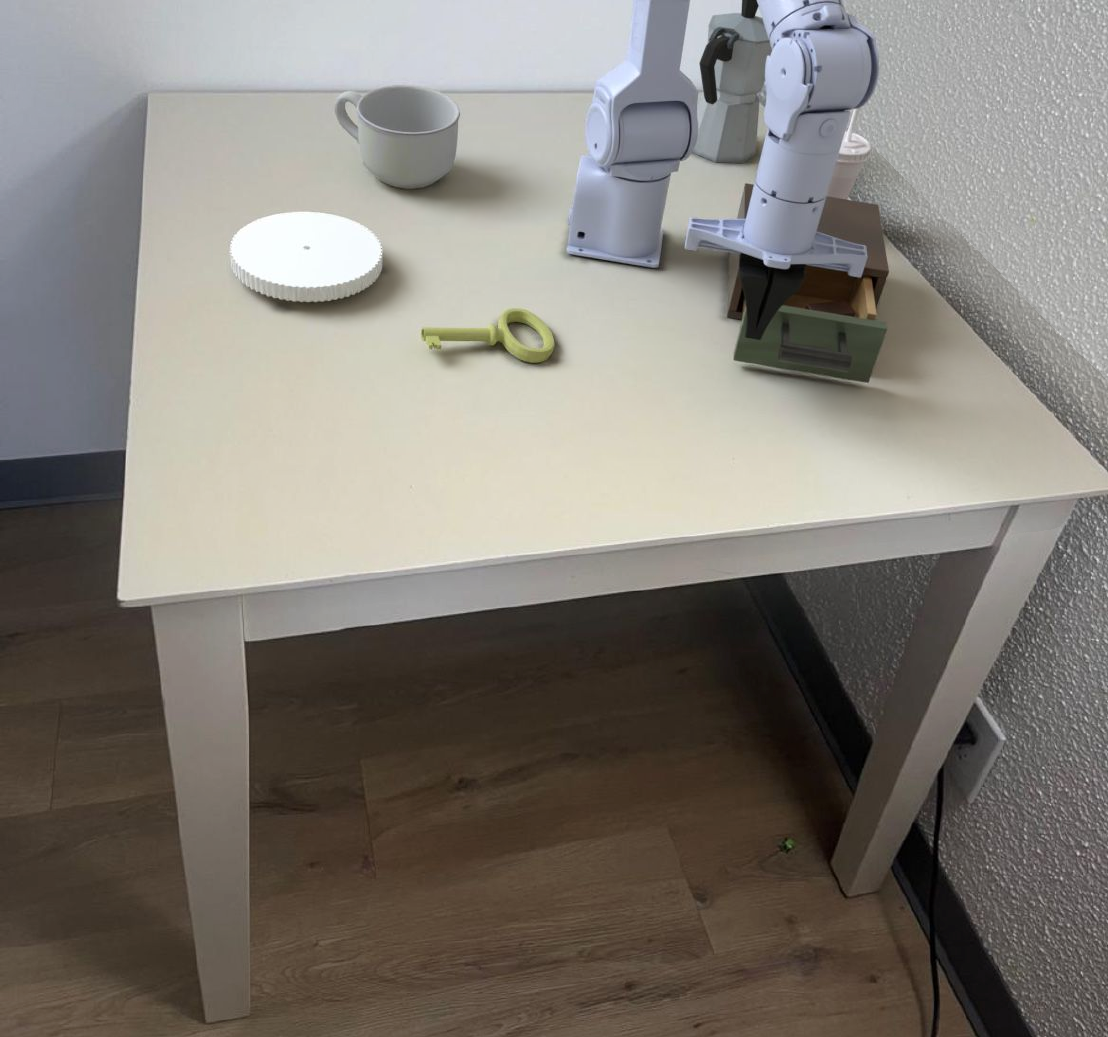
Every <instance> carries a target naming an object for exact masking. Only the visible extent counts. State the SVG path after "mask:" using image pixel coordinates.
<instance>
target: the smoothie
mask: <svg viewBox="0 0 1108 1037" xmlns="http://www.w3.org/2000/svg"><path fill="white" fill-rule="evenodd" d="M860 109H861V107H860V108H857V109H853V112H852V115H851V119H850V122H849V124H848V125H849V126H848V129H846V130H845V134H844V137H843V141H842V144H841V147H840V151H839V154H838V158H837V161H836V165H835V168H834V172H833V175H832V179H831V182H830V186H829V189H828V193H827V197H834V198H840V199H846V200H849V197H850V195H851V192H852V190H853V188H854V186H855V183H856V181H857V180H858V177H859V174H860V172H861V170H862V168H863V165H864V164H865V161H867V160H868V159H869V158H870V155H871V151H872V144H871V143H870V141H869V140H867V139H866V138H865V137H864V136H862V135H860V134H857V133H856V132H854V129H855V128H856V127H855V126H856V123H857V120H858V117H859V113H860V111H861V110H860Z"/></svg>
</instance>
